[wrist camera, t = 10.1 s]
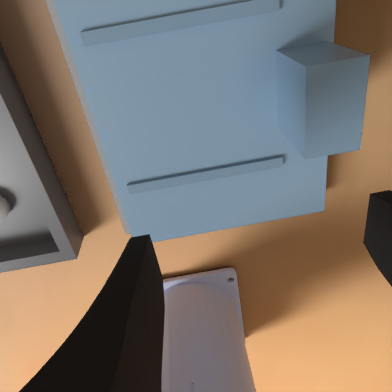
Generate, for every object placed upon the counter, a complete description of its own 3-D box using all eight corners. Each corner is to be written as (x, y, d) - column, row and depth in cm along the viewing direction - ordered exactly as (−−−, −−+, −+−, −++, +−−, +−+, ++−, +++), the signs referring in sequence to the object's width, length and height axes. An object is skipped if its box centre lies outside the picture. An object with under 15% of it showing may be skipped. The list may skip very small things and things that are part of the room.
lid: (317, 201, 23) (354, 252, 18) (136, 234, 23) (130, 292, 18) (331, -126, 14) (407, -176, 10) (37, -71, 14) (-17, -96, 10)
